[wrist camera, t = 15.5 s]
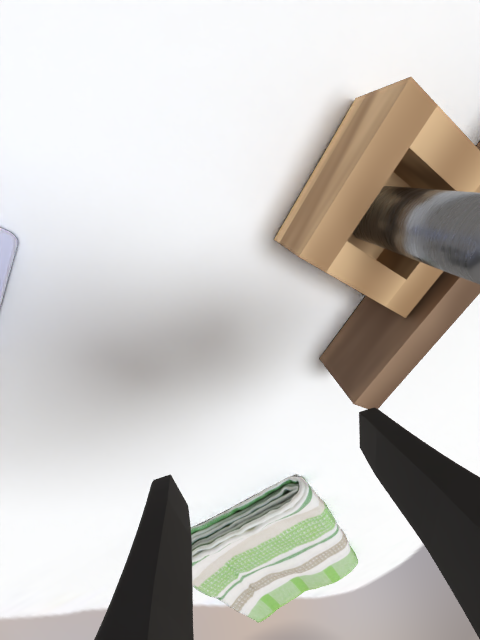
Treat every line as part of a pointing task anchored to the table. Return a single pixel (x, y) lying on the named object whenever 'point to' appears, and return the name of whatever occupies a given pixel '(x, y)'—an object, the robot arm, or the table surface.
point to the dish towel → (270, 550)
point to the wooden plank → (393, 339)
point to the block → (378, 190)
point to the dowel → (427, 227)
